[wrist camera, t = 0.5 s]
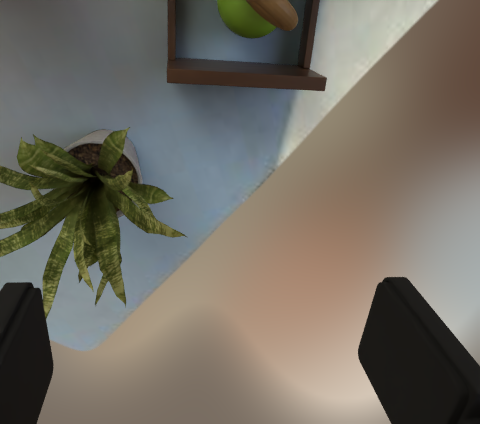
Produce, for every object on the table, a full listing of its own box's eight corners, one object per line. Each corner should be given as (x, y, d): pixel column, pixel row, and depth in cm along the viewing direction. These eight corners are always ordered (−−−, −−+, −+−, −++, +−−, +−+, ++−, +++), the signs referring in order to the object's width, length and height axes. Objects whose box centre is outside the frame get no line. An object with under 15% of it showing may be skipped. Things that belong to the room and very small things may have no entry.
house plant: (-22, 158, 36) (-149, 262, 22) (67, 35, 33) (-16, 65, 19) (113, 243, 42) (81, 368, 28) (201, 146, 39) (215, 233, 24)
